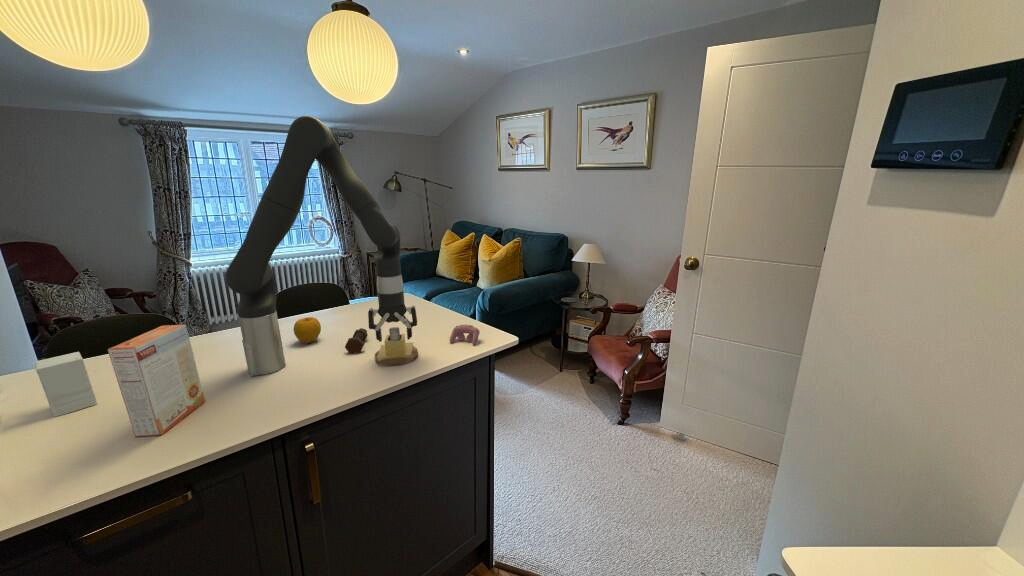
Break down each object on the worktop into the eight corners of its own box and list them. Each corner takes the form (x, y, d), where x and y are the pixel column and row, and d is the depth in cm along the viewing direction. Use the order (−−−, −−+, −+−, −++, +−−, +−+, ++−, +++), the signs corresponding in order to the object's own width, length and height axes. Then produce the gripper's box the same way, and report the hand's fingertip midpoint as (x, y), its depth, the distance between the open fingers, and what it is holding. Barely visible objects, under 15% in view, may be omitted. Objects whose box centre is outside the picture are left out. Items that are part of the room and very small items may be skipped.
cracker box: (181, 403, 96) (161, 324, 91) (206, 402, 96) (188, 323, 91) (131, 438, 82) (105, 347, 77) (161, 436, 83) (136, 346, 78)
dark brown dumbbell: (365, 341, 139) (357, 357, 125) (352, 336, 138) (342, 351, 124) (372, 327, 139) (365, 341, 124) (359, 321, 137) (350, 335, 123)
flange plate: (411, 357, 117) (410, 342, 116) (377, 360, 115) (375, 345, 114) (413, 345, 127) (412, 330, 125) (381, 347, 125) (380, 333, 123)
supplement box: (94, 395, 100) (80, 350, 97) (97, 404, 96) (83, 358, 93) (51, 407, 95) (35, 360, 92) (52, 418, 90) (35, 369, 87)
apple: (312, 347, 130) (308, 322, 127) (289, 346, 131) (285, 321, 129) (327, 338, 138) (324, 314, 135) (306, 336, 139) (302, 313, 137)
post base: (417, 363, 116) (414, 334, 114) (372, 368, 114) (369, 338, 111) (418, 347, 129) (416, 320, 126) (378, 350, 126) (375, 323, 124)
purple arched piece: (479, 346, 133) (481, 326, 134) (475, 345, 128) (477, 324, 130) (452, 343, 135) (455, 324, 137) (447, 342, 131) (450, 322, 132)
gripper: (363, 294, 111) (369, 346, 115) (414, 291, 114) (417, 342, 118) (367, 287, 118) (372, 337, 122) (415, 285, 121) (418, 333, 125)
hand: (394, 339), depth 120 cm, fingers open, 8 cm apart
